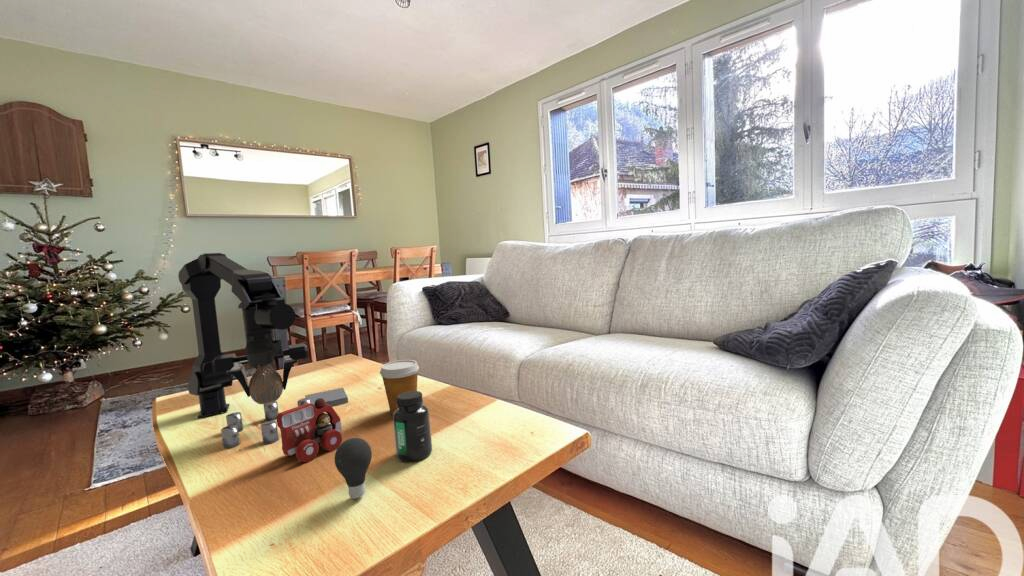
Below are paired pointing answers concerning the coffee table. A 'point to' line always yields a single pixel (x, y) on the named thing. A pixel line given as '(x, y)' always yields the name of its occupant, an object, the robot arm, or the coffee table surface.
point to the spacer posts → (267, 428)
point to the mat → (330, 397)
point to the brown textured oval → (265, 385)
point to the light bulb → (354, 464)
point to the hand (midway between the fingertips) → (267, 392)
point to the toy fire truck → (309, 430)
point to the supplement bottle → (412, 427)
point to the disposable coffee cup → (399, 379)
